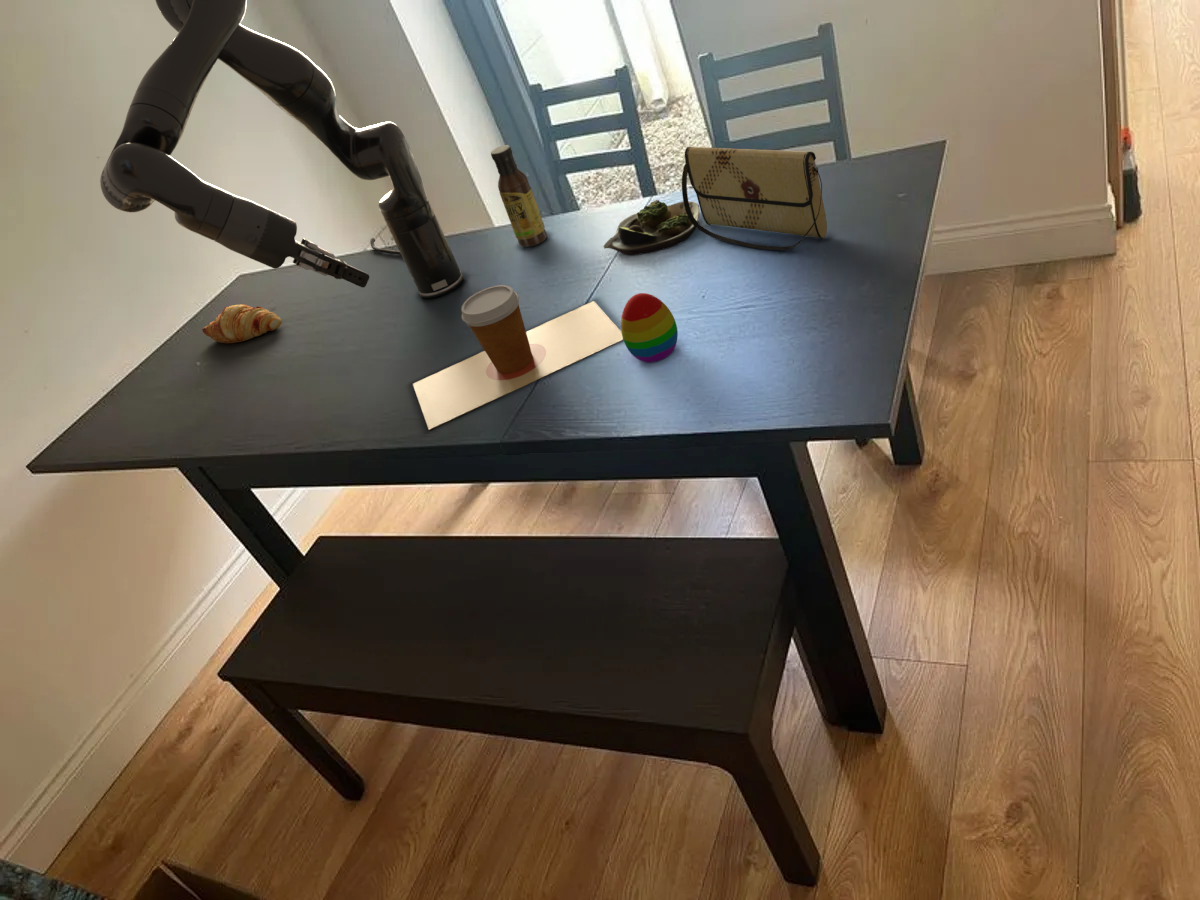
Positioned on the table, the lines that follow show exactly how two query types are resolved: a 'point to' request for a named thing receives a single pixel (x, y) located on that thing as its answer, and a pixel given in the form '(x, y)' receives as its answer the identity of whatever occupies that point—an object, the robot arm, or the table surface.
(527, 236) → the sauce bottle
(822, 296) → the table surface
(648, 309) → the decorative egg
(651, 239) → the salad plate
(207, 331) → the croissant
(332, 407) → the table surface
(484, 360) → the placemat
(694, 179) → the clutch purse
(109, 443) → the table surface
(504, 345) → the disposable coffee cup
